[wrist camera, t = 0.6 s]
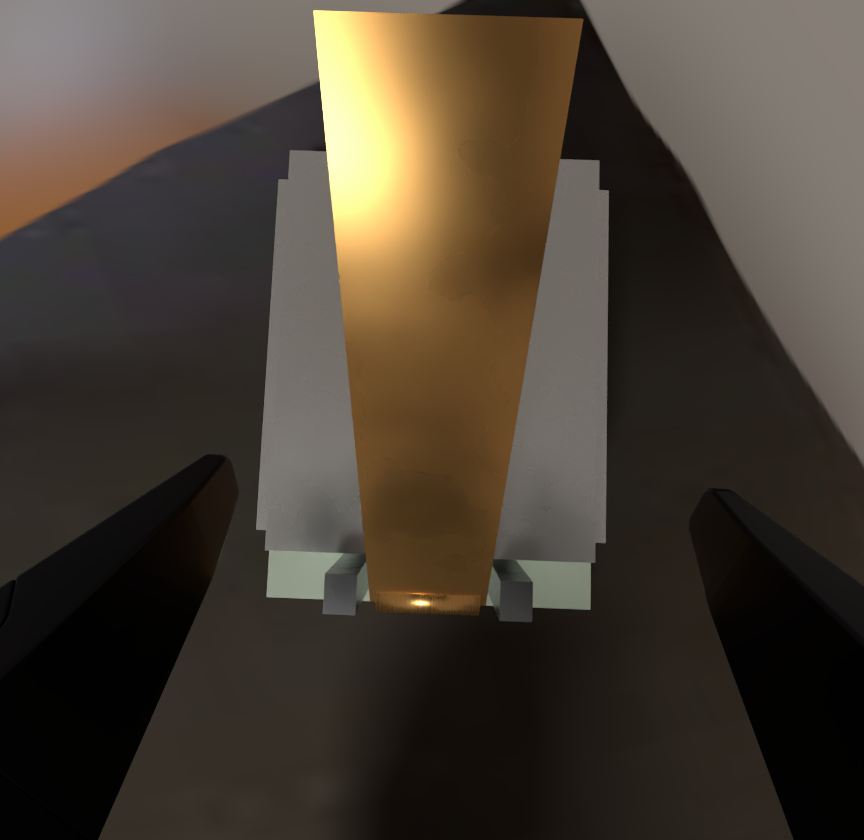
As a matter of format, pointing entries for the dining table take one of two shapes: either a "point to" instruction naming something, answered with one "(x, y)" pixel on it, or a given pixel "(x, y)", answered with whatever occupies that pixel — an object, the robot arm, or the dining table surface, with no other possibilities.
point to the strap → (439, 272)
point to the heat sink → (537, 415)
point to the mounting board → (550, 590)
